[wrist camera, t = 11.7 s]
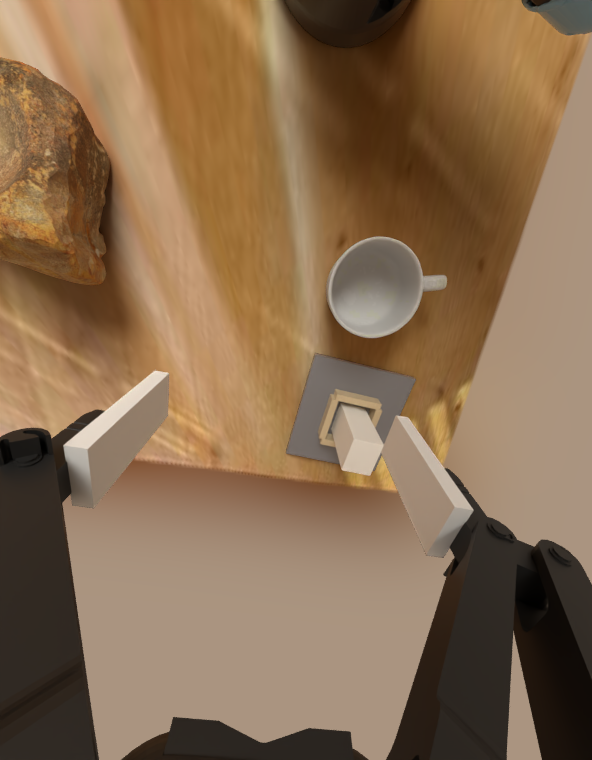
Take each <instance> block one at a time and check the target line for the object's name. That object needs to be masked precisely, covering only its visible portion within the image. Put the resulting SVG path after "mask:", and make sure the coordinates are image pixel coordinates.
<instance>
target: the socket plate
mask: <svg viewBox="0 0 592 760" xmlns="http://www.w3.org/2000/svg"><path fill="white" fill-rule="evenodd" d="M415 381H416V379H415V378H414V377H411V376H407V375H403V374H399V373H395V372H391V371H387V370H383V369H379V368H375V367H371V366H367V365H363V364H358V363H354V362H350V361H346V360H342V359H338V358H334V357H330V356H326V355H322V354H318V353H315V354H314V358H313V361H312V364H311V368H310V371H309V375H308V378H307V381H306V385H305V388H304V391H303V395H302V398H301V402H300V405H299V408H298V412H297V415H296V419H295V422H294V425H293V429H292V432H291V435H290V439H289V442H288V446H287V449H286V453H287V454H292V455H297V456H301V457H306V458H311V459H316V460H321V461H326V462H331V463H336V464H340V462H339V458H338V454H337V450H336V446H335V442H334V438H333V434H332V430H331V428H332V425H333V422H334V420H335V417H336V414H337V411H338V408H339V405H340V403H346V404H350V405H354V406H359V407H363V408H365V410H366V412H367V414H368V415H369V417H370V419H371V421H372V423H373V425H374V427H375V429H376V431H377V433H378V435H379V437H380V439H381V441H382V442H383V444H384V443H385V441H386V438H387V436H388V434H389V431H390V429H391V426H392V424H393V421H394V419H395V416H396V415H398V416H400V414H401V412H402V409H403V407H404V405H405V403H406V400H407V398H408V396H409V394H410V392H411V389H412V387H413V385H414V383H415ZM381 456H382V454H381V453H380V455H379V457H378V460H377V462H376V464H375V466H374V468H373V471H375V469H376V467H377V465H378V462H379V460H380V458H381Z"/></svg>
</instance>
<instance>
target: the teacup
mask: <svg viewBox="0 0 592 760" xmlns="http://www.w3.org/2000/svg"><path fill="white" fill-rule="evenodd" d="M446 285H447V277H446V276H445V275H431V276H423V272H422V268H421V265H420V262H419V260H418V258H417V257H416V255H415V254H414V252H413V251H412V250H411V249H410V248H409V247H408V246H407V245H405V244H404V243H402V242H401V241H399V240H396V239H393V238H389V237H372V238H367V239H365V240H362V241H360V242H358V243H356V244H354V245H353V246H351V247H350V248H349V249H348V250H346V251H345V252H344V254H343V255H342V256H341V257H340V258H339V259H338V260H337V261H336V263H335V264H334V265H333V267H332V269H331V271H330V273H329V276H328V279H327V284H326V298H327V302H328V306H329V308H330V310H331V312H332V314H333V316H334V317H335V319H336V320H337V322H338V323H339V324H340V325H341V326H342V327H343V328H344V329H346V330H347V331H349V332H350V333H352V334H354V335H357V336H360V337H365V338H379V337H383V336H386V335H390V334H391V333H394V332H396V331H398V330H399V329H401V328H402V327H403V326H404V325H405V324H407V323H408V322H409V320H410V319H411V318H412V317H413V315H414V314H415V312H416V310H417V308H418V306H419V304H420V301H421V297H422V293H423V292H426V291H437V290H442V289H444V288H445V287H446Z"/></svg>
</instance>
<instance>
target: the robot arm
mask: <svg viewBox="0 0 592 760" xmlns="http://www.w3.org/2000/svg"><path fill="white" fill-rule="evenodd" d="M410 1H411V0H285V2H286V4H287V6H288V8H289V9H290V11H291V13H292V14H293V16H294V17H295V19H296V20H297V21H298V23H299V24H300V25H301V26H302V27H303V28H304V29H305V30H306V31H307V32H308V33H309V34H311V35H312V36H313V37H315V38H316V39H318V40H320V41H322V42H324V43H326V44H329V45H332V46H336V47H356V46H360V45H363V44H366V43H369V42H371V41H373V40H375V39H376V38H378V37H379V36H381V35H382V34H384V33H385V32H386V31H387V30H388V29H389V28H391V27H392V26H393V25H394V23H395V22H396V21H397V20H398V19H399V18H400V16H401V15H402V14H403V12H404V11H405V9H406V8H407V6H408V5H409V3H410ZM522 3H523V5H524V6H525V8H527V9H528V10H529V11H533V12H538V13H539V14H540V15H541V16H542V17H543V18H544V19H546V20H547V21H548V22H549V23H550V24H551V25H552V26H553V27H554V28H555V29H556V30H557V31H559V32H560V33H562V34H565V35H575V34H587V33H590V32H592V0H522ZM168 396H169V373H166V372H160V371H154V372H153V373H151V374H150V375H149V376H148V377H146V378H145V379H144V380H143V381H141V382H140V383H139V384H138V385H137V386H135V387H134V388H133V389H132V390H130V391H129V392H128V393H127V394H126V395H124V396H123V397H122V398H121V399H119V400H118V401H117V402H116V403H114V404H113V405H112V406H111V407H110V408H108V409H107V410H106V411H102V410H94V411H92V412H89V413H87V414H84V415H83V416H81V417H80V418H79V419H77V420H76V421H75V422H74V423H72V424H71V425H69V426H68V427H67V429H64V430H63V431H61V432H60V433H59V434H57V435H56V436H55V437H53V438H52V439H51V435H50V433H49V432H48V431H47V430H44V429H41V428H25V429H20V430H16V431H12V432H10V433H7V434H5V435H3V436H1V437H0V760H99V757H98V750H97V743H96V737H95V731H94V725H93V717H92V710H91V703H90V696H89V689H88V682H87V675H86V668H85V661H84V654H83V647H82V640H81V633H80V626H79V619H78V612H77V604H76V597H75V591H74V583H73V576H72V569H71V562H70V555H69V548H68V541H67V534H66V527H65V521H64V513H63V506H62V502H63V501H64V500H65V499H66V498H67V497H68V496H69V495H70V494H71V500H72V505H73V506H80V507H87V508H95V507H96V505H97V504H98V503H99V501H100V500H101V499H102V498H103V496H104V495H105V494H106V492H107V491H108V490H109V489H110V488H111V486H112V485H113V484H114V483H115V481H116V480H117V479H118V478H119V476H120V475H121V474H122V472H123V471H124V470H125V469H126V468H127V466H128V465H129V464H130V462H131V461H132V460H133V459H134V458H135V456H136V455H137V454H138V453H139V451H140V450H141V449H142V448H143V446H144V445H145V444H146V443H147V441H148V440H149V439H150V438H151V436H152V435H153V434H154V433H155V431H156V430H157V429H158V428H159V426H160V425H161V424H162V422H163V421H164V420H165V419H166V417H167V416H168ZM381 454H382V456H383V458H384V461H385V463H386V465H387V468H388V470H389V472H390V474H391V477H392V479H393V481H394V483H395V486H396V488H397V490H398V493H399V495H400V497H401V499H402V501H403V504H404V506H405V508H406V511H407V513H408V515H409V517H410V520H411V522H412V524H413V526H414V529H415V531H416V534H417V536H418V538H419V540H420V543H421V545H422V547H423V549H424V552H425V554H426V555H427V556H434V557H441V558H444V556H445V555H446V553H447V552H448V550H449V548H450V549H451V551H452V552H453V554H454V556H455V558H454V559H453V560H452V562H451V564H450V565H449V567H448V568H447V570H446V571H445V573H444V576H447V577H446V580H445V584H444V586H443V590H442V593H441V596H440V599H439V602H438V606H437V609H436V612H435V615H434V619H433V622H432V625H431V628H430V631H429V634H428V637H427V641H426V644H425V647H424V650H423V653H422V656H421V659H420V663H419V666H418V669H417V672H416V675H415V678H414V682H413V685H412V688H411V691H410V694H409V698H408V701H407V704H406V707H405V710H404V713H403V717H402V720H401V723H400V726H399V729H398V733H397V736H396V739H395V741H394V744H393V746H392V749H391V751H390V753H389V755H388V757H387V759H386V760H507V755H506V754H507V736H508V718H509V698H510V681H511V661H512V643H513V631H514V635H515V640H516V644H517V649H518V653H519V657H520V662H521V667H522V671H523V676H524V680H525V684H526V689H527V693H528V698H529V703H530V707H531V712H532V716H533V721H534V725H535V730H536V734H537V739H538V743H539V748H540V753H541V757H542V760H592V584H591V582H590V580H589V578H588V577H587V575H586V573H585V571H584V569H583V567H582V565H581V564H580V563H579V561H578V560H577V559H576V558H575V557H574V556H573V555H572V554H571V553H570V552H569V551H568V550H566V549H565V548H563V547H562V546H560V545H558V544H556V543H554V542H552V541H549V540H541V541H539V542H538V544H537V545H536V546H535V547H533V546H531V545H528V544H526V543H524V542H521V541H519V540H517V539H516V537H515V536H514V534H513V533H512V532H511V531H510V530H509V529H508V528H507V527H506V526H505V525H503V524H501V523H500V522H499V521H497V520H495V519H493V518H489V517H487V516H486V515H485V513H484V512H483V511H482V509H481V508H480V506H479V505H478V504H477V502H476V501H475V500H474V498H473V497H472V496H471V494H469V492H468V490H467V489H466V488H465V487H464V485H463V483H462V482H461V481H460V479H459V478H458V477H457V476H456V475H455V474H454V473H453V472H451V471H450V470H449V469H446V468H444V467H443V466H442V465H441V463H440V462H439V460H438V459H437V457H436V456H435V455H434V453H433V452H432V450H431V449H430V448H429V446H428V445H427V443H426V442H425V440H424V439H423V438H422V436H421V435H420V433H419V432H418V431H417V429H416V428H415V426H414V425H413V423H412V422H411V421H410V419H409V418H408V417H403V416H398V415H396V416H395V419H394V421H393V424H392V426H391V429H390V431H389V434H388V436H387V438H386V441H385V443H384V446H383V448H382V451H381ZM122 760H368V759H367V758H366V757H364V756H363V755H362V754H360V753H359V752H358V751H356V750H355V749H352V742H351V732H348V731H336V730H324V729H311V728H308V729H305V730H302V731H299V732H297V733H294V734H291V735H288V736H285V737H282V738H279V739H276V740H273V741H270V742H267V743H260V742H258V741H256V740H254V739H252V738H250V737H248V736H247V735H245V734H243V733H241V732H239V731H237V730H235V729H233V728H231V727H229V726H227V725H225V724H224V723H222V722H220V721H213V720H202V719H189V718H177V717H173V720H172V724H171V728H170V732H167V733H164V734H161V735H159V736H156V737H154V738H152V739H150V740H148V741H146V742H145V743H143V744H141V745H140V746H138V747H137V748H135V749H134V750H132V751H131V752H130V753H129V754H128V755H126V756H125V757H124V758H123V759H122Z"/></svg>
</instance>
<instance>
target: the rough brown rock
mask: <svg viewBox="0 0 592 760" xmlns="http://www.w3.org/2000/svg"><path fill="white" fill-rule="evenodd" d="M109 170H110V161H109V158H108V155H107V152H106V150H105V149H104V147H103V145H102V144H101V142H100V141H99V139H98V138H97V137H96V135H95V134H94V131H93V128H92V126H91V124H90V122H89V120H88V118H87V117H86V115H85V113H84V111H83V109H82V107H81V105H80V104H79V102H78V100H77V99H76V98H75V97H74V96H73V95H72V94H71V93H69V92H68V91H67V90H66V89H64V88H63V87H62V86H61V85H60V84H58V83H56V82H54V81H52V80H50V79H48V78H47V77H45V76H44V75H43V74H42V73H41V72H40V71H39V70H38V69H36V68H33V67H31V66H29V65H27V64H24V63H22V62H18V61H14V60H9V59H5V58H0V259H1V260H4V261H7V262H11V263H14V264H17V265H21V266H24V267H26V268H29V269H32V270H34V271H37V272H40V273H43V274H46V275H49V276H52V277H55V278H59V279H63V280H66V281H70V282H73V283H79V284H84V285H98V284H102V283H103V281H104V279H105V277H106V271H105V266H104V264H103V261H102V260H101V257H102V256H103V255H104V254H105V253H106V246H105V243H104V240H103V235H101V234H100V233H99V226H100V220H101V216H102V211H103V206H104V205H105V199H106V197H105V194H104V191H105V189H106V186H107V182H108V177H109Z"/></svg>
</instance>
